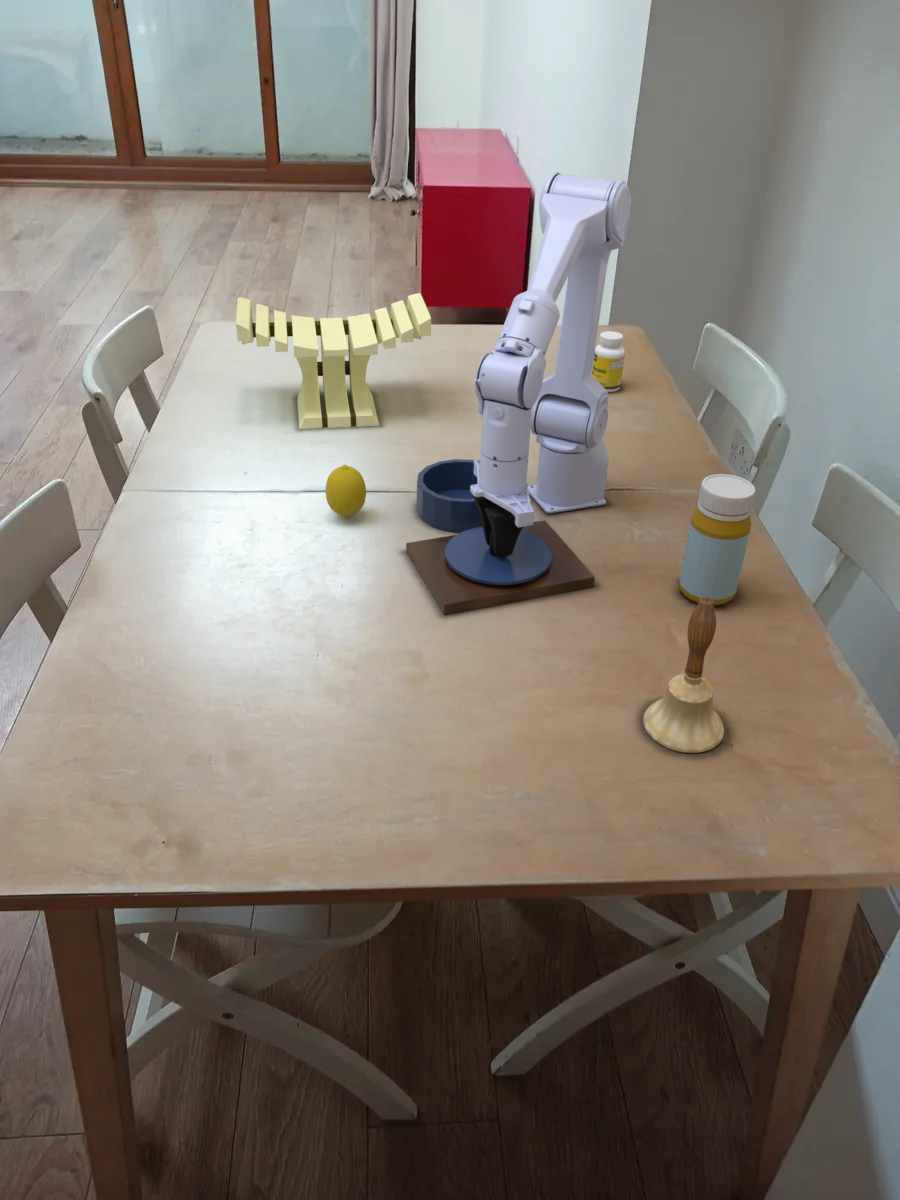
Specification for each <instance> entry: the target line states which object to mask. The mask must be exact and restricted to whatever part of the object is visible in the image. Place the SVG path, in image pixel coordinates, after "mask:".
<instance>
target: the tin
mask: <svg viewBox="0 0 900 1200" xmlns="http://www.w3.org/2000/svg"><path fill="white" fill-rule="evenodd" d="M474 460H475V459H465V458H464V459H462V458H461V459H459V458H454V459H447V460H440V461H437V462H434V463H431V464H429V465H427V466H425V467H424V468H423V469H422V470H420V471H419V472H418V473H417V474H418V475H417V479H416V511H417V514H418V516H419V517H420V519H421V520H422V522H424V523H426V525H429V526H430V527H432V528H435V529H438V530H441V531H445V532H450V533H457V534H459V533H461V532H463V531H466V530H469V529H472V528H476V527H483V525H482V520H481V516H480V512H479V509H478V507H477V504H476V502H475V500H474V498H473V496H472V493H471V491H470V486H471V485H475V484H477V477H476V476H475V475H474Z"/></svg>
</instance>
